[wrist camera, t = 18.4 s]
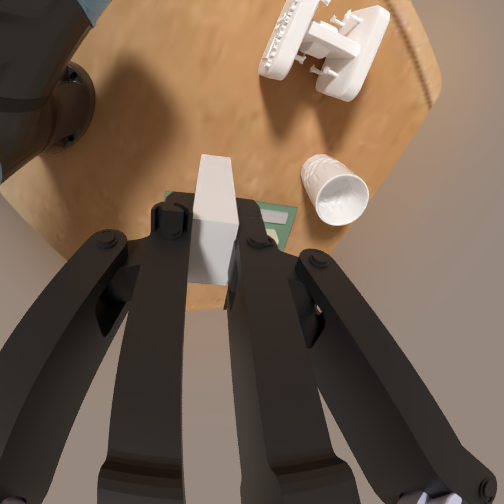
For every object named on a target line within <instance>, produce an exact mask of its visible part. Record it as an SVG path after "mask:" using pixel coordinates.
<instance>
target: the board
mask: <svg viewBox="0 0 504 504" xmlns="http://www.w3.org/2000/svg"><path fill="white" fill-rule="evenodd" d="M171 193H172V192H169V191H165V200H166V197H167V196H168V195H169V194H171ZM255 202H256V201H255ZM256 203H257V204H258V205H259V207H260V210H261V214H262V219H263V221H264V225H265V228H266V229H274V230H275V231H276V234H277V237H278V240H279V242H278V245H277V246H278V249H279V250H280V251H282V252H283V251H284V248H285V245H286V242H287V239H288V236H289V233H290V230H291V227H292V224H293V221H294V218H295V215H296V212H297V208H296V207H290V206H283V205H277V204H270V203H263V202H256Z"/></svg>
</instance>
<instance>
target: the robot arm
mask: <svg viewBox="0 0 504 504" xmlns="http://www.w3.org/2000/svg"><path fill="white" fill-rule="evenodd" d="M111 1H112V0H0V185H1V184H2V183H3V182H4V181H5V180H7V179H8V178H9V177H10V176H11V175H13V174H14V173H15V172H16V171H18V170H19V169H20V168H22V167H23V166H24V165H25V164H27V163H28V162H29V161H31V160H32V159H34V158H35V157H36V156H38V155H47V154H55V153H58V152H61V151H63V150H65V149H67V148H68V147H70V146H71V145H73V144H74V143H75V142H76V141H78V140H79V139H80V138H81V137H82V135H83V134H84V133H85V131H86V130H87V128H88V126H89V124H90V122H91V119H92V116H93V112H94V106H95V93H94V88H93V84H92V81H91V79H90V77H89V75H88V74H87V72H86V71H85V70H84V69H83V68H82V67H81V66H79V65H78V64H76V63H74V62H71V61H70V60H71V58H72V57H73V55H74V53H75V52H76V50H77V49H78V47H79V46H80V44H81V43H82V41H83V40H84V39H85V37H86V36H87V34H88V33H89V31H90V30H91V29H92V28H94V27H95V26H96V21H97V20H98V18H99V17H100V16H101V14H102V13H103V11H104V10H105V9H106V7H107V6H108V5H109V4H110V2H111ZM227 279H228V285H229V286H228V290H227V295H226V300H225V305H224V310H226V309H227V313H228V329H229V342H230V343H229V344H230V357H231V369H232V382H233V393H234V405H235V416H236V426H237V436H238V446H239V455H240V463H241V474H242V481H241V487H240V492H241V493H240V494H241V504H361V503H360V499H359V494H358V490H357V485H356V481H355V477H354V475H353V472H352V469H351V468H350V467H349V465H348V464H347V463H346V462H345V461H343V460H342V459H340V458H338V457H337V456H336V455H335V453H334V451H333V448H332V445H331V441H330V437H329V432H328V428H327V424H326V421H325V416H324V412H323V408H322V404H321V400H320V396H319V392H318V389H319V391H320V393H321V394H322V396H323V398H324V400H325V402H326V404H327V406H328V408H329V409H330V411H331V413H332V415H333V417H334V419H335V421H336V423H337V424H338V426H339V428H340V430H341V432H342V434H343V436H344V438H345V439H346V441H347V443H348V445H349V447H350V449H351V451H352V453H353V454H354V456H355V458H356V460H357V462H358V464H359V466H360V467H361V469H362V471H363V473H364V475H365V477H366V479H367V480H368V482H369V483H370V485H371V487H372V488H373V490H374V492H375V493H376V494H377V495H378V496H379V498H380V499H381V500H382V501H383V502H384V503H385V504H492V502H493V500H494V498H495V495H496V491H497V482H496V477H495V476H494V474H493V473H492V472H491V471H490V470H489V469H488V468H486V467H485V466H484V465H483V464H482V463H481V462H480V461H479V460H478V459H476V458H475V457H474V456H473V455H472V454H471V453H470V452H469V451H467V450H466V449H465V448H464V447H463V446H462V445H461V443H460V441H459V440H458V438H457V436H456V434H455V433H454V431H453V429H452V427H451V426H450V424H449V422H448V421H447V419H446V417H445V416H444V414H443V412H442V411H441V409H440V408H439V406H438V405H437V403H436V401H435V400H434V398H433V396H432V395H431V394H430V392H429V390H428V389H427V387H426V385H425V384H424V382H423V381H422V379H421V378H420V376H419V375H418V373H417V372H416V370H415V369H414V367H413V366H412V364H411V363H410V361H409V360H408V359H407V357H406V356H405V354H404V353H403V352H402V350H401V349H400V347H399V346H398V344H397V343H396V341H395V340H394V339H393V337H392V336H391V334H390V333H389V332H388V330H387V329H386V327H385V326H384V325H383V323H382V322H381V321H380V319H379V318H378V316H377V315H376V314H375V312H374V311H373V310H372V308H371V307H370V306H369V304H368V303H367V302H366V301H365V299H364V298H363V296H362V295H361V294H360V292H359V291H358V290H357V289H356V287H355V286H354V285H353V283H352V282H351V281H350V280H349V278H348V277H347V276H346V275H345V273H344V272H343V271H342V269H341V268H340V267H339V266H338V264H337V263H336V262H335V261H334V260H333V258H331V257H330V256H329V255H328V254H326V253H324V252H323V251H321V250H317V249H305V250H303V251H302V252H301V253H300V255H299V257H296V256H293V255H290V254H287V253H285V252H282V251H280V250H279V249H278V246H277V243H276V242H275V240H274V239H273V238H272V237H270V236H269V235H267V232H266V228H265V225H264V221H263V219H262V214H261V210H260V207H259V205H258V204H257V203H256V202H255V201H254V200H250V199H242V198H235V190H234V183H233V175H232V168H231V160H230V158H228V157H221V156H213V155H205V154H202V156H201V162H200V168H199V174H198V180H197V186H196V192H195V194H193V193H183V192H172V193H171V194H169V195H168V196H167V197H166V200H165V202H160V203H158V204H156V205H154V206H153V207H152V209H151V233H150V235H149V236H148V237H145V238H142V239H137V240H129V241H127V238H126V236H125V235H124V233H122V232H120V231H118V230H112V229H107V230H102V231H99V232H96V233H95V234H93V235H92V236H91V237H90V238H89V239H88V240H87V241H86V242H85V243H84V244H83V245H82V246H81V247H80V248H79V249H78V250H77V252H76V253H75V254H74V255H73V256H72V257H71V258H70V259H69V260H68V262H67V263H66V264H65V265H64V266H63V267H62V268H61V270H60V271H59V272H58V273H57V274H56V276H55V277H54V278H53V279H52V280H51V282H50V283H49V284H48V285H47V286H46V288H45V289H44V290H43V291H42V293H41V294H40V295H39V296H38V298H37V299H36V300H35V302H34V303H33V304H32V306H31V307H30V308H29V310H28V311H27V312H26V314H25V315H24V316H23V318H22V319H21V321H20V322H19V324H18V325H17V326H16V328H15V330H14V331H13V333H12V334H11V335H10V337H9V338H8V340H7V341H6V343H5V344H4V346H3V348H2V349H1V351H0V504H41V503H42V502H43V500H44V498H45V496H46V494H47V492H48V490H49V487H50V485H51V482H52V479H53V476H54V473H55V470H56V467H57V465H58V462H59V459H60V456H61V453H62V451H63V448H64V446H65V443H66V440H67V438H68V435H69V433H70V430H71V428H72V425H73V423H74V421H75V418H76V416H77V414H78V411H79V409H80V406H81V404H82V402H83V400H84V398H85V395H86V393H87V391H88V389H89V387H90V385H91V382H92V380H93V378H94V376H95V374H96V372H97V370H98V368H99V366H100V364H101V362H102V360H103V358H104V356H105V354H106V352H107V350H108V348H109V346H110V344H111V342H112V340H113V338H114V336H115V334H116V333H117V330H118V329H119V327H120V325H121V323H122V322H123V320H124V318H125V316H126V314H127V312H128V311H129V313H128V317H127V322H126V326H125V331H124V336H123V341H122V346H121V351H120V356H119V362H118V367H117V374H116V380H115V387H114V394H113V401H112V409H111V418H110V428H109V440H108V452H107V457H106V461H105V462H104V464H103V465H102V467H101V468H100V472H99V476H98V486H97V504H186V501H185V488H184V471H183V447H182V446H183V445H182V369H183V368H182V367H183V343H184V323H185V307H186V293H187V282H191V283H202V284H214V285H226V284H227ZM317 305H318V306H319V308H320V309H321V311H322V312H321V313H320V312H319V311H318V310H317V308H316V307H317ZM317 387H318V388H317Z"/></svg>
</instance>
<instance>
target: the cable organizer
mask: <svg viewBox="0 0 504 504" xmlns="http://www.w3.org/2000/svg"><path fill="white" fill-rule="evenodd" d="M320 1H322V2H324V3H325V5H324V7H325V6H328V3H329V2H330V1H331V0H287V1H286V3H285V5H284V7H283V9H282V12H281V14H280V16H279V18H278V21H277V23H276V25H275V27H274V30H273V32H272V34H271V37H270V39H269V42H268V44H267V46H266V49H265V51H264V54H263V56H262V59H261V61H260V64H259V68H258V75H261V76H264V77H267V78H271V79H276V80H280V81H281V80H283V79H284V78H285V77H286V75H287V74H288V72H289V70H290V69H291V67H292V64H293V62H294V60H297V61H300V63H301V64H303V61H304V59H305V58H306V57H305V54H308V55H311V56H313V57H316V58H318V59H321V58H324V57H326V59H325V61H324V64H323V66H322V68H321V71H320V70H318V69H316V67H314V65H315V63H314V65H313V66H312V67H310V69H311V70H310V71H309V73H310V72H312V73H313V72H314V73H316V74H319V75H318V78H317V81H316V91H319V92H321V93H323V94H325V95H328V96H332V97H335V98H338V99H340V100H343V101H346V102H350V101H351V100H353V99H354V98H355V97H356V96H357V94H358V93H359V91H360V89H361V87H362V85H363V83H364V80H365V78H366V76H367V73H368V71H369V69H370V66H371V64H372V62H373V59H374V57H375V55H376V52H377V50H378V48H379V45H380V43H381V40H382V38H383V36H384V33H385V31H386V28H387V26H388V23H389V20H390V13H389V12H388V11H387V10H385V9H384V8H382V7H381V6H379V5H376V6H372V7H368V8H364V9H361V10H357V11H353V12H350V11H351V9H350V10H349V11H348V12H347V14H346V15H344V16H345V17H344V19H343V21H342V22H340V21H339V20H337V19H335V18H336V17H337V16H336V17H335V15H334V16H333V17H332V18H330V20H331V21H330V23H331V22H333V23H335V24H337V25H339V26H340V27H339V29H338V30H337V28H335V27H333V26H331V25H329V24H327V23H325V22H323V21H321V20H315V21H311V20H312V18H313V16H314V14H315V11H316V9H317V7H318V5H319V2H320ZM324 7H323V8H324ZM299 48H300V51H301V52H303V53H305V54H304V56H303V57H301V56H299V55H297V53H298V50H299ZM300 63H299V64H300Z"/></svg>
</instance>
